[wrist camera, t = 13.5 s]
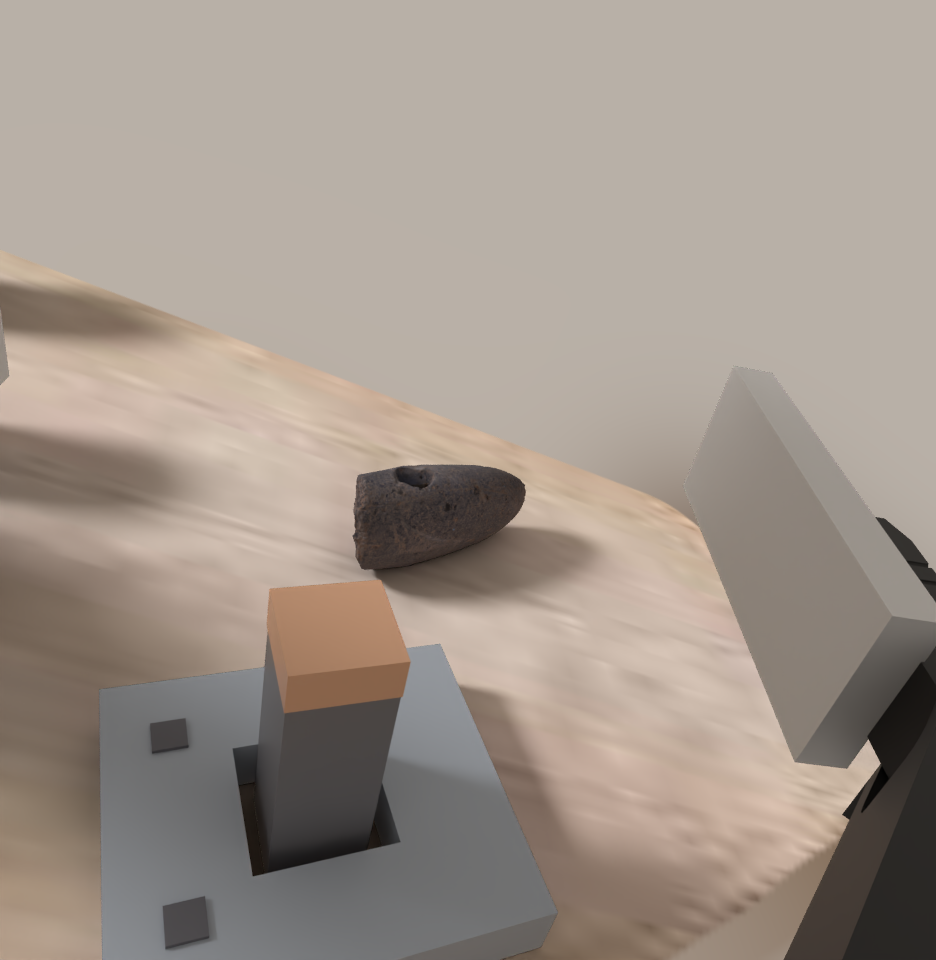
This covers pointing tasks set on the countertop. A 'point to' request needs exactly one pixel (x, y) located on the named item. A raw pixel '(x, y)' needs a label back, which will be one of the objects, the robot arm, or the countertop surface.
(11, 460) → the countertop surface
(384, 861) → the socket
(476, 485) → the perforated stone tool
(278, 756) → the plug
